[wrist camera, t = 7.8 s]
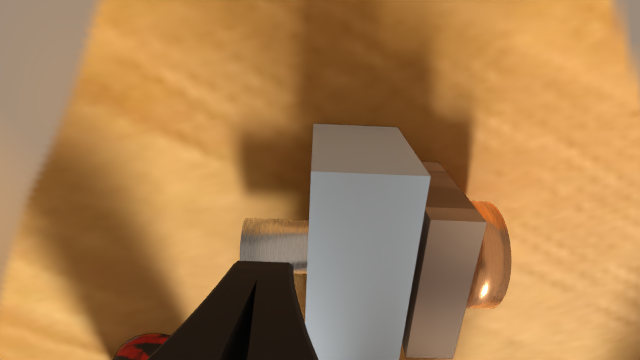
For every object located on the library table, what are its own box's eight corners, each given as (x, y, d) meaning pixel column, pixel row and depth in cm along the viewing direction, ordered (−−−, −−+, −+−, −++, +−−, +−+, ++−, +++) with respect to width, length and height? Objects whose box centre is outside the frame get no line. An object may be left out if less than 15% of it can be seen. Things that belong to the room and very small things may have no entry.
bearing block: (375, 295, 22) (394, 387, 17) (306, 292, 22) (302, 384, 17) (397, 127, 18) (430, 176, 13) (313, 123, 18) (310, 171, 13)
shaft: (475, 184, 19) (522, 236, 15) (457, 265, 21) (494, 332, 17) (252, 175, 19) (231, 225, 14) (254, 258, 21) (236, 324, 16)
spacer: (419, 271, 22) (453, 359, 16) (384, 270, 22) (406, 357, 16) (438, 162, 19) (486, 222, 14) (398, 160, 19) (430, 220, 14)
